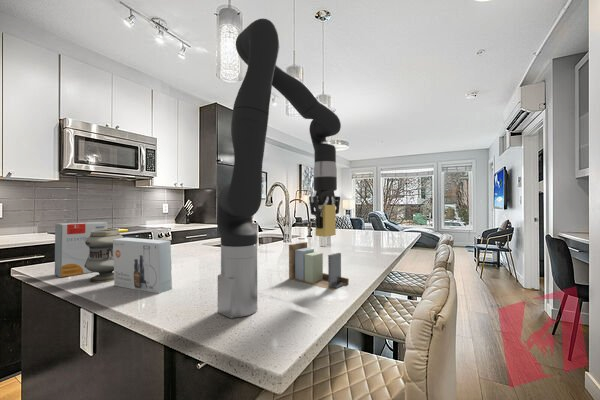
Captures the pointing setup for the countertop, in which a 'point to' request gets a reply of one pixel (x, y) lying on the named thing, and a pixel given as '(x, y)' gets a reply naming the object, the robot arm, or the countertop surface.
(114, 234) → the apothecary jar
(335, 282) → the bookend
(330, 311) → the countertop surface
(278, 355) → the countertop surface
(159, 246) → the skincare box
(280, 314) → the countertop surface
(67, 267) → the hard drive box
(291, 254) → the book trough
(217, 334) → the countertop surface
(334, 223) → the book ochre
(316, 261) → the book sage
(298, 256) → the book slate
